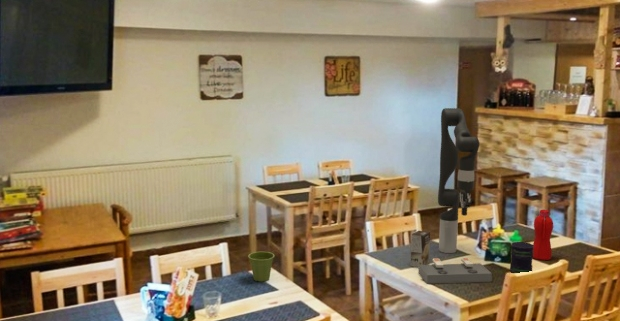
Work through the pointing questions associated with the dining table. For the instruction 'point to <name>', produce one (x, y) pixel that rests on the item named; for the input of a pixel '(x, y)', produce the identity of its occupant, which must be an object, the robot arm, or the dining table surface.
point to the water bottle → (542, 236)
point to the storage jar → (521, 257)
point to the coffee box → (420, 248)
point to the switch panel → (454, 273)
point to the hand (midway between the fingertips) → (464, 215)
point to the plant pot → (261, 265)
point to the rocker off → (437, 262)
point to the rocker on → (466, 262)
